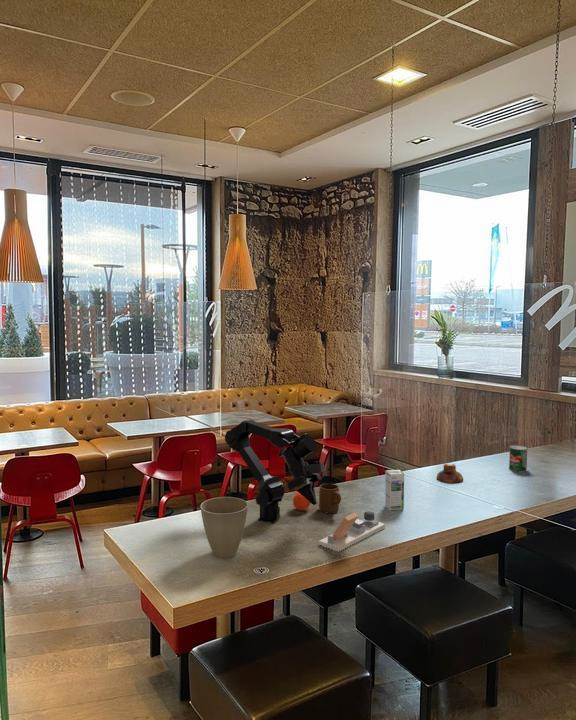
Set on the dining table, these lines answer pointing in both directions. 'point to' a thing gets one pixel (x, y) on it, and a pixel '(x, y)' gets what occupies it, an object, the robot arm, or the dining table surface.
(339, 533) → the paddle
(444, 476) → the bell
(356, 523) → the rocker
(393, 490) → the syrup box
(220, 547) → the plant pot
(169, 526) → the dining table surface
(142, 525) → the dining table surface
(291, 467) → the robot arm
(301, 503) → the clementine
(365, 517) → the push button
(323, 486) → the mug
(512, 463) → the canned tomato
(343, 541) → the switch console
